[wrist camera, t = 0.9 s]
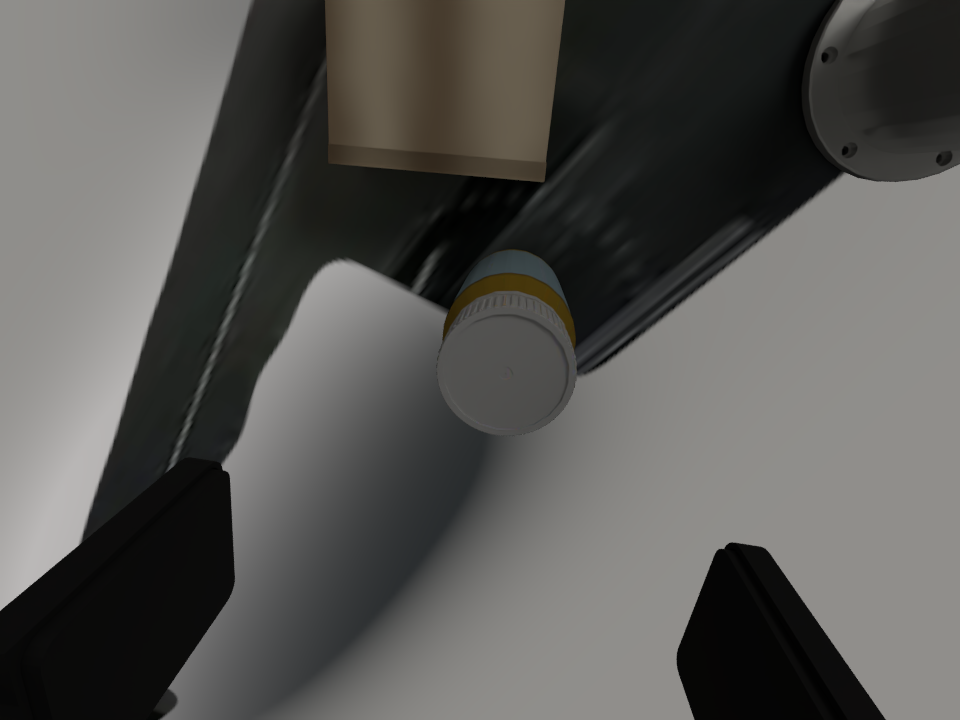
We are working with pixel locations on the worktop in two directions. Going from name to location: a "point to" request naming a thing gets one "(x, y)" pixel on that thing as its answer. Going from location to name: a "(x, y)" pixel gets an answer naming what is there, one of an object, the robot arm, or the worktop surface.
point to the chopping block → (442, 84)
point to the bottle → (508, 346)
